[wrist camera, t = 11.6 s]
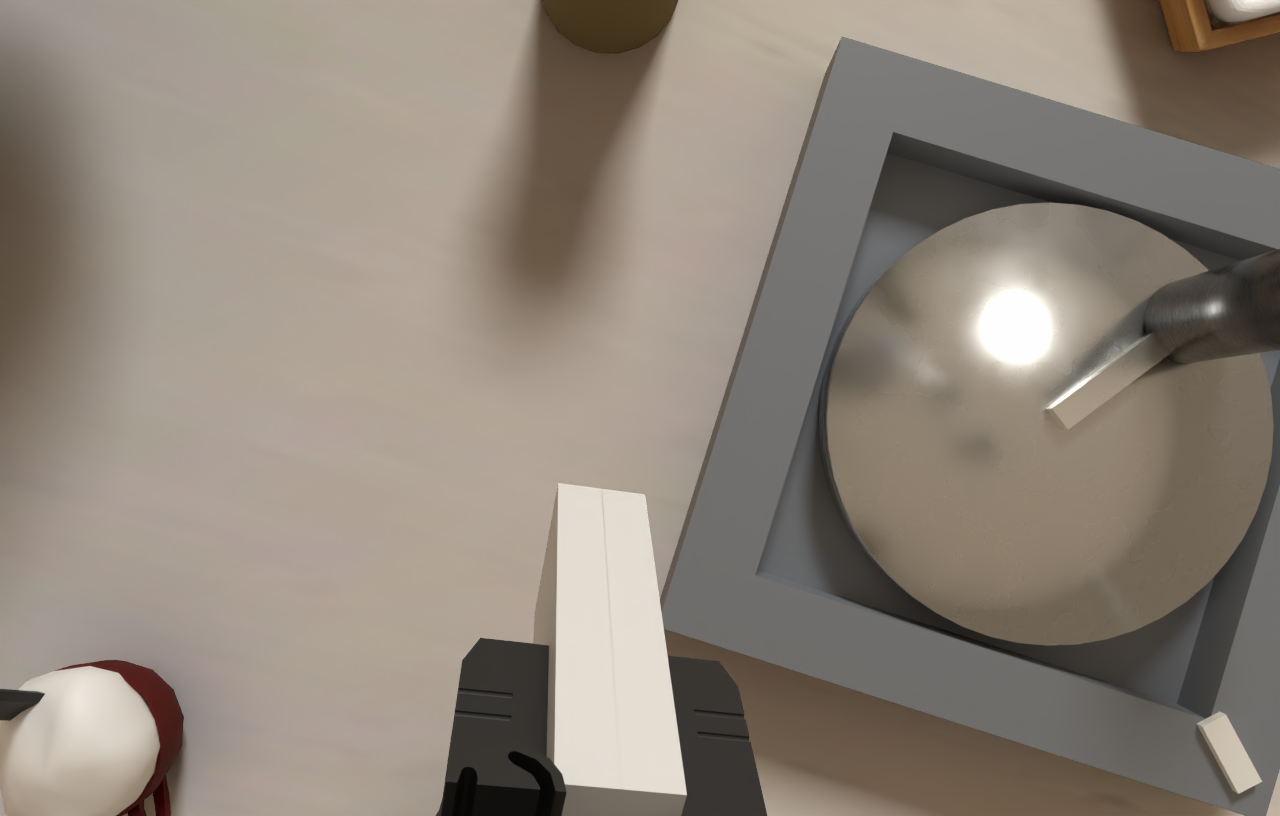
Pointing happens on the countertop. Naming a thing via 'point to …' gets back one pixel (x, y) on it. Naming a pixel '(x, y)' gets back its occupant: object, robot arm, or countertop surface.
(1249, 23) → the soap dish
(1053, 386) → the dial
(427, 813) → the countertop surface
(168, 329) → the countertop surface
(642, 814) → the robot arm
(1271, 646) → the tray
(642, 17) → the cork
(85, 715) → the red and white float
